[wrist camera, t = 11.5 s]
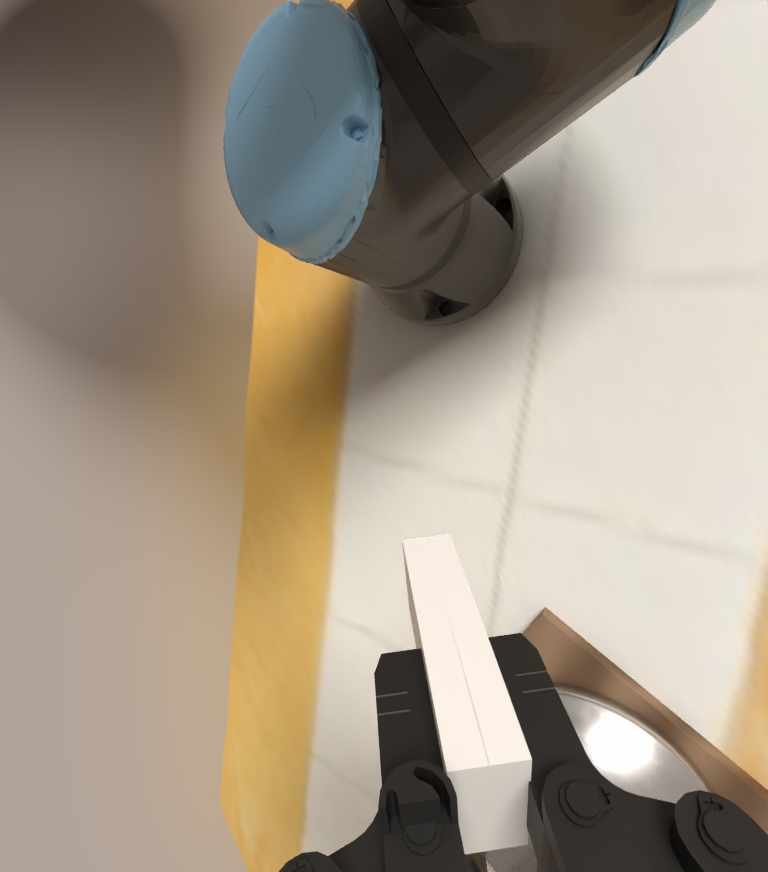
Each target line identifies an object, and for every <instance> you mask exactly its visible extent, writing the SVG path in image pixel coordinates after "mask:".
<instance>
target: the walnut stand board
mask: <svg viewBox="0 0 768 872" xmlns="http://www.w3.org/2000/svg"><path fill="white" fill-rule="evenodd" d="M522 635H524V636H525V637H526V638H527V639H528V640H529V641H530V642H531V643H532V644H533V645H534V646H535V647H536V648H537V650H538V652H539V654H540V656H541V658H542V660H543V662H544V665H545V667H546V669H547V673H549V675H550V677H551V679H552V682H556V683H565V684H569V685H574V686H578V687H582V688H585V689H588V690H591V691H594V692H597V693H600V694H602V695H604V696H607V697H609V698H611V699H613V700H616V701H618V702H620V703H621V704H623V705H625V706H627V707H628V708H630V709H632V710H634V711H635V712H637V713H638V714H640V715H641V716H643V717H644V718H646V719H647V720H648V721H650V722H651V723H653V724H654V725H655V726H657V727H658V728H659V729H660V730H661V731H663V732H664V733H665V734H666V735H667V736H668V737H670V738H671V739H672V740H673V741H674V742H675V743H676V744H677V745H678V746H679V747H680V748H681V749H682V750H683V751H684V752H685V753H686V754H687V755H688V756H689V758H690V759H691V760H692V761H693V763H694V764H695V765H696V766H697V768H698V769H699V770H700V771H701V772H702V774H703V775H704V777H705V778H706V780H707V782H708V783H709V785H710V786H711V788H712V789H713V791H714V792H715V793H716V794H718V795H720V796H722V797H724V798H726V799H728V800H729V801H731V802H733V803H735V804H736V805H737V806H739V807H740V808H741V809H742V810H743V811H744V812H745V813H747V814H748V815H749V816H750V817H751V818H752V819H753V820H754V821H755V822H756V823H757V824H758V825H759V826H760V827H761V828H762V829H763V830H764V831H765V833H766V834H767V835H768V790H767V789H765V788H764V787H763V786H762V785H761V784H759V783H758V782H757V781H756V780H755V779H753V778H752V777H751V776H750V775H748V774H747V773H746V772H745V771H744V770H742V769H741V768H740V767H739V766H738V765H736V764H735V763H734V762H733V761H731V760H730V759H729V758H728V757H727V756H725V755H724V754H723V753H722V752H721V751H719V750H718V749H717V748H716V747H714V746H713V745H712V744H711V743H710V742H708V741H707V740H706V739H705V738H704V737H702V736H701V735H700V734H699V733H697V732H696V731H695V730H694V729H693V728H691V727H690V726H689V725H688V724H687V723H685V722H684V721H683V720H682V719H680V718H679V717H678V716H677V715H676V714H674V713H673V712H672V711H671V710H670V709H668V708H667V707H666V706H665V705H663V704H662V703H661V702H660V701H659V700H657V699H656V698H655V697H654V696H653V695H651V694H650V693H649V692H648V691H646V690H645V689H644V688H643V687H642V686H640V685H639V684H638V683H637V682H636V681H634V680H633V679H632V678H631V677H629V676H628V675H627V674H626V673H625V672H623V671H622V670H621V669H620V668H619V667H617V666H616V665H615V664H614V663H612V662H611V661H610V660H609V659H608V658H606V657H605V656H604V655H603V654H602V653H600V652H599V651H598V650H597V649H595V648H594V647H593V646H592V645H591V644H589V643H588V642H587V641H586V640H585V639H583V638H582V637H581V636H580V635H578V634H577V633H576V632H575V631H574V630H572V629H571V628H570V627H569V626H568V625H566V624H565V623H564V622H563V621H561V620H560V619H559V618H558V617H557V616H555V615H554V614H553V613H552V612H551V611H549V610H548V609H547V608H546V607H545V609H544V610H543V611H542V612H541V613H540V614H539V615H538V617H537V618H536V619H535V620H534V621H533V622H532V624H531V625H530V626H529V627H528V628H527V629H526V631H525V632H524V633H523V634H522Z"/></svg>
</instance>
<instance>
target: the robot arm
mask: <svg viewBox="0 0 768 872" xmlns="http://www.w3.org/2000/svg"><path fill="white" fill-rule="evenodd" d="M715 1H716V0H354V1H353V2H352V4H351V5H350V6H349V7H348V8H347V10H346V9H345V8H344V7H343V6H342V5H341V4H338V3H335V1H330V0H300V2H299V4H297V3H296V2H295V1H292V0H290V1H287V2H285V3H283V4H282V5H280V6H279V7H277V8H276V9H275V10H274V11H273V12H272V13H271V14H270V15H269V16H268V17H267V18H266V19H265V20H264V21H263V22H262V23H261V24H260V26H259V27H258V28H257V30H256V31H255V33H254V34H253V36H252V37H251V39H250V41H249V42H248V44H247V46H246V48H245V50H244V52H243V54H242V56H241V58H240V61H239V63H238V65H237V68H236V71H235V74H234V77H233V80H232V84H231V87H230V91H229V96H228V101H227V107H226V112H225V116H226V125H225V132H224V160H225V168H226V173H227V179H228V182H229V186H230V190H231V193H232V196H233V198H234V201H235V203H236V205H237V207H238V209H239V211H240V213H241V214H242V216H243V218H244V219H245V221H246V222H247V223H248V225H249V226H250V227H251V228H252V229H253V230H254V231H255V232H256V233H257V234H258V235H259V236H260V237H261V238H263V239H264V240H266V241H267V242H269V243H271V244H273V245H275V246H277V247H279V248H281V249H283V250H285V251H286V252H288V253H289V254H290V255H292V256H293V257H295V258H296V259H298V260H300V261H303V262H306V263H311V264H314V265H317V266H320V267H323V268H325V269H328V270H331V271H334V272H337V273H340V274H342V275H345V276H348V277H351V278H354V279H356V280H359V281H362V282H365V283H368V284H370V286H371V287H372V288H373V290H374V291H375V292H376V294H377V295H378V297H379V298H380V299H381V300H382V302H383V303H384V304H385V305H386V306H387V307H389V308H390V309H391V310H392V311H394V312H395V313H397V314H398V315H400V316H402V317H404V318H406V319H409V320H412V321H415V322H419V323H422V324H428V325H446V324H451V323H455V322H458V321H461V320H464V319H466V318H468V317H470V316H472V315H474V314H476V313H477V312H479V311H480V310H482V309H483V308H484V307H485V306H487V305H488V304H489V303H490V302H491V301H492V300H493V299H494V298H495V297H496V296H497V295H498V294H499V292H500V291H501V290H502V288H503V287H504V286H505V284H506V283H507V281H508V279H509V278H510V276H511V274H512V272H513V270H514V268H515V265H516V263H517V260H518V257H519V253H520V249H521V244H522V236H523V221H522V213H521V209H520V205H519V202H518V199H517V197H516V194H515V192H514V190H513V189H512V187H511V186H510V184H509V183H508V181H507V179H506V178H505V177H504V175H503V173H504V172H506V171H507V170H508V169H510V168H511V167H512V166H514V165H515V164H517V163H518V162H519V161H521V160H522V159H523V158H525V157H526V156H527V155H529V154H530V153H531V152H533V151H534V150H535V149H537V148H538V147H540V146H541V145H542V144H544V143H545V142H546V141H548V140H549V139H550V138H552V137H553V136H554V135H556V134H557V133H558V132H560V131H561V130H562V129H564V128H565V127H567V126H568V125H569V124H571V123H572V122H573V121H575V120H576V119H577V118H579V117H580V116H581V115H583V114H584V113H585V112H587V111H588V110H590V109H591V108H592V107H594V106H595V105H596V104H598V103H599V102H600V101H602V100H603V99H604V98H606V97H607V96H608V95H610V94H611V93H612V92H614V91H615V90H617V89H618V88H619V87H621V86H622V85H623V84H625V83H626V82H627V81H629V80H630V79H632V78H633V77H635V76H638V75H639V74H641V73H642V72H643V71H645V70H646V69H647V68H648V67H649V66H650V65H651V64H652V63H653V62H654V61H655V60H656V58H657V57H658V56H659V55H660V54H661V53H662V51H663V50H664V49H665V48H667V47H668V46H669V45H670V44H671V43H673V42H674V41H675V40H676V39H677V38H679V37H680V36H681V35H682V34H683V33H685V32H686V31H687V30H688V29H689V28H691V27H692V26H693V25H694V24H695V23H696V22H697V21H699V20H700V19H701V18H702V17H703V16H704V15H705V13H706V12H707V11H708V10H709V9H710V8H711V6H712V5H713V4H714V3H715ZM402 542H403V552H404V561H405V571H406V580H407V590H408V600H409V608H410V614H411V620H412V626H413V631H414V637H415V643H416V648H417V649H413V650H406V651H399V652H392V653H385V654H381V657H380V659H379V662H378V665H377V668H376V671H375V673H374V675H375V689H376V704H377V716H378V733H379V748H380V762H381V777H382V788H381V790H380V797H379V807H378V809H379V810H378V812H377V814H376V816H375V818H374V820H373V822H372V824H371V825H370V826H369V827H368V829H367V830H366V831H365V832H364V833H363V834H362V835H361V836H359V837H358V838H357V839H356V840H354V841H353V842H351V843H349V844H348V845H346V846H344V847H343V848H341V849H339V850H338V851H336V852H334V853H333V854H331V855H330V856H326V855H324V854H321V853H319V852H307V853H301V854H300V855H298V856H296V857H294V858H293V859H291V860H289V861H288V862H287V863H286V864H285V865H284V866H283V867H282V869H281V870H280V871H279V872H468V868H467V863H466V858H465V854H471V853H478V852H484V851H490V850H497V849H503V848H510V847H516V846H522V845H528V832H529V835H530V839H531V842H532V845H533V848H534V851H535V855H536V858H537V861H538V863H537V872H768V835H767V834H766V833H765V831H764V830H763V829H762V828H761V827H760V826H759V825H758V824H757V823H756V822H755V821H754V820H753V819H752V818H751V817H750V816H749V815H748V814H747V813H745V812H744V811H743V810H742V809H741V808H740V807H739V806H737V805H736V804H735V803H733V802H731V801H729V800H728V799H726V798H724V797H722V796H720V795H718V794H716V793H711V792H706V791H702V790H697V791H693V792H688V793H685V794H684V795H683V796H682V797H681V798H680V799H679V800H678V801H677V803H672V802H667V801H662V800H658V799H653V798H649V797H644V796H639V795H636V794H633V793H630V792H627V791H625V790H623V789H621V788H619V787H618V786H616V785H614V784H612V783H611V782H610V781H609V780H608V779H606V778H605V777H604V776H603V775H602V774H601V773H600V772H599V771H598V770H597V769H596V768H595V766H594V765H593V764H592V762H591V761H590V759H589V757H588V755H587V754H586V752H585V750H584V747H583V745H582V743H581V741H580V739H579V737H578V735H577V733H576V730H575V728H574V726H573V724H572V722H571V720H570V718H569V716H568V713H567V711H566V709H565V707H564V705H563V703H562V701H561V699H560V696H559V694H558V692H557V690H555V686H554V684H553V682H552V679H551V677H550V675H549V673H547V669H546V667H545V665H544V662H543V660H542V658H541V656H540V654H539V652H538V650H537V648H536V647H535V646H534V645H533V644H532V643H531V642H530V641H529V640H528V639H527V638H526V637H525V636H524V635H522V634H521V633H518V634H510V635H503V636H496V637H489V638H488V636H487V633H486V630H485V627H484V624H483V622H482V619H481V616H480V613H479V611H478V608H477V605H476V602H475V599H474V597H473V594H472V591H471V588H470V586H469V583H468V580H467V577H466V575H465V572H464V569H463V566H462V563H461V561H460V558H459V555H458V552H457V550H456V547H455V544H454V541H453V538H452V536H451V534H443V535H436V536H428V537H421V538H413V539H406V540H402Z"/></svg>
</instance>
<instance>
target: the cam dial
mask: <svg viewBox="0 0 768 872" xmlns="http://www.w3.org/2000/svg"><path fill="white" fill-rule="evenodd" d="M553 684H554V686H555V690H557V692H558V694H559V696H560V699H561V701H562V703H563V705H564V707H565V709H566V711H567V713H568V716H569V718H570V720H571V722H572V724H573V726H574V728H575V730H576V733H577V735H578V737H579V739H580V741H581V743H582V745H583V747H584V750H585V752H586V754H587V755H588V757H589V759H590V761H591V762H592V764H593V765H594V766H595V768H596V769H597V770H598V771H599V772H600V773H601V774H602V775H603V776H604V777H605V778H606V779H608V780H609V781H610V782H611V783H612V784H614V785H616V786H618V787H619V788H621V789H623V790H625V791H627V792H630V793H633V794H636V795H639V796H644V797H649V798H653V799H658V800H662V801H667V802H672V803H677V801H678V800H679V799H680V798H681V797H682V796H683V795H684V794H685V793H688V792H693V791H697V790H702V791H706V792H711V793H715V792H714V791H713V789H712V788H711V786H710V785H709V783H708V782H707V780H706V778H705V777H704V775H703V774H702V772H701V771H700V770H699V769H698V768H697V766H696V765H695V764H694V763H693V761H692V760H691V759H690V758H689V756H688V755H687V754H686V753H685V752H684V751H683V750H682V749H681V748H680V747H679V746H678V745H677V744H676V743H675V742H674V741H673V740H672V739H671V738H670V737H668V736H667V735H666V734H665V733H664V732H663V731H661V730H660V729H659V728H658V727H657V726H655V725H654V724H653V723H651V722H650V721H648V720H647V719H646V718H644V717H643V716H641V715H640V714H638V713H637V712H635V711H634V710H632V709H630V708H628V707H627V706H625V705H623V704H621V703H620V702H618V701H616V700H613V699H611V698H609V697H607V696H604V695H602V694H600V693H597V692H594V691H591V690H588V689H585V688H582V687H578V686H574V685H569V684H565V683H556V682H553ZM465 858H466V863H467V868H468V872H487V864H486V859H487V861H488V862H489V863H490V865H491V866H492V867H493V869H494V870H495V871H496V872H537V863H538V861H537V858H536V855H535V851H534V848H533V845H532V842H531V839H530V835H529V832H528V845H522V846H516V847H510V848H503V849H497V850H490V851H484V852H478V853H471V854H465ZM485 858H486V859H485Z"/></svg>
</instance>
